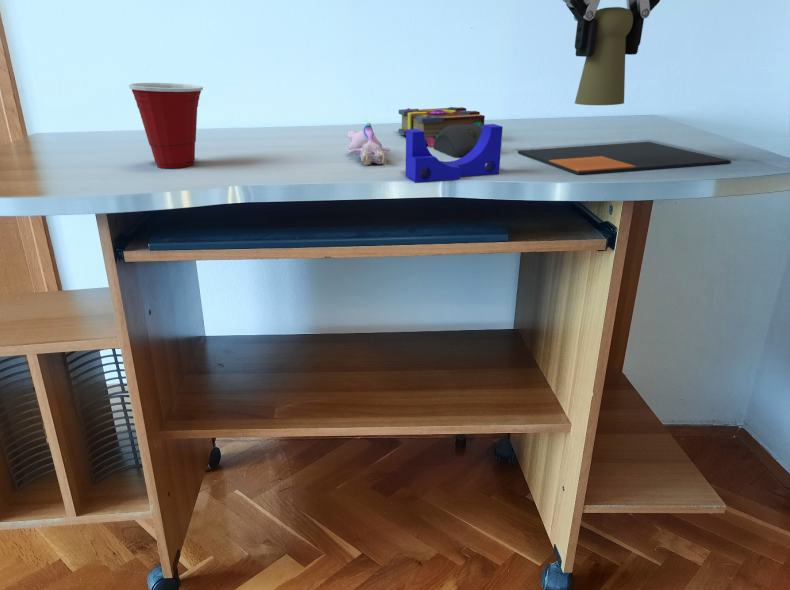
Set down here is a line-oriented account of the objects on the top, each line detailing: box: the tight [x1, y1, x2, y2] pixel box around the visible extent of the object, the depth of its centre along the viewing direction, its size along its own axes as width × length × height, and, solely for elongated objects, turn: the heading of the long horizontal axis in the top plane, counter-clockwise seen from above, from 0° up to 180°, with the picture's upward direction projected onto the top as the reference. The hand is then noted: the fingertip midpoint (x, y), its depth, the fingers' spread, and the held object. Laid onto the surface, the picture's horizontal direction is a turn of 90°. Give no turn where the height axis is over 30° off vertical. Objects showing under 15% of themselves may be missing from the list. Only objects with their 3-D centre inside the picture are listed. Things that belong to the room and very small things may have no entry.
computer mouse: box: [433, 124, 482, 159], centre depth 101 cm, size 6×11×4 cm, turn 12°
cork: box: [574, 6, 633, 106], centre depth 81 cm, size 6×6×11 cm
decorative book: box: [398, 106, 486, 148], centre depth 113 cm, size 11×16×5 cm
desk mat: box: [517, 141, 732, 176], centre depth 92 cm, size 22×18×1 cm
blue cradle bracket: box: [405, 123, 504, 183], centre depth 84 cm, size 12×4×6 cm, turn 100°
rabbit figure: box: [347, 122, 391, 167], centre depth 97 cm, size 6×6×15 cm
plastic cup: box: [128, 82, 204, 169], centre depth 97 cm, size 11×11×12 cm
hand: (606, 53), depth 81 cm, fingers closed on cork, 5 cm apart
